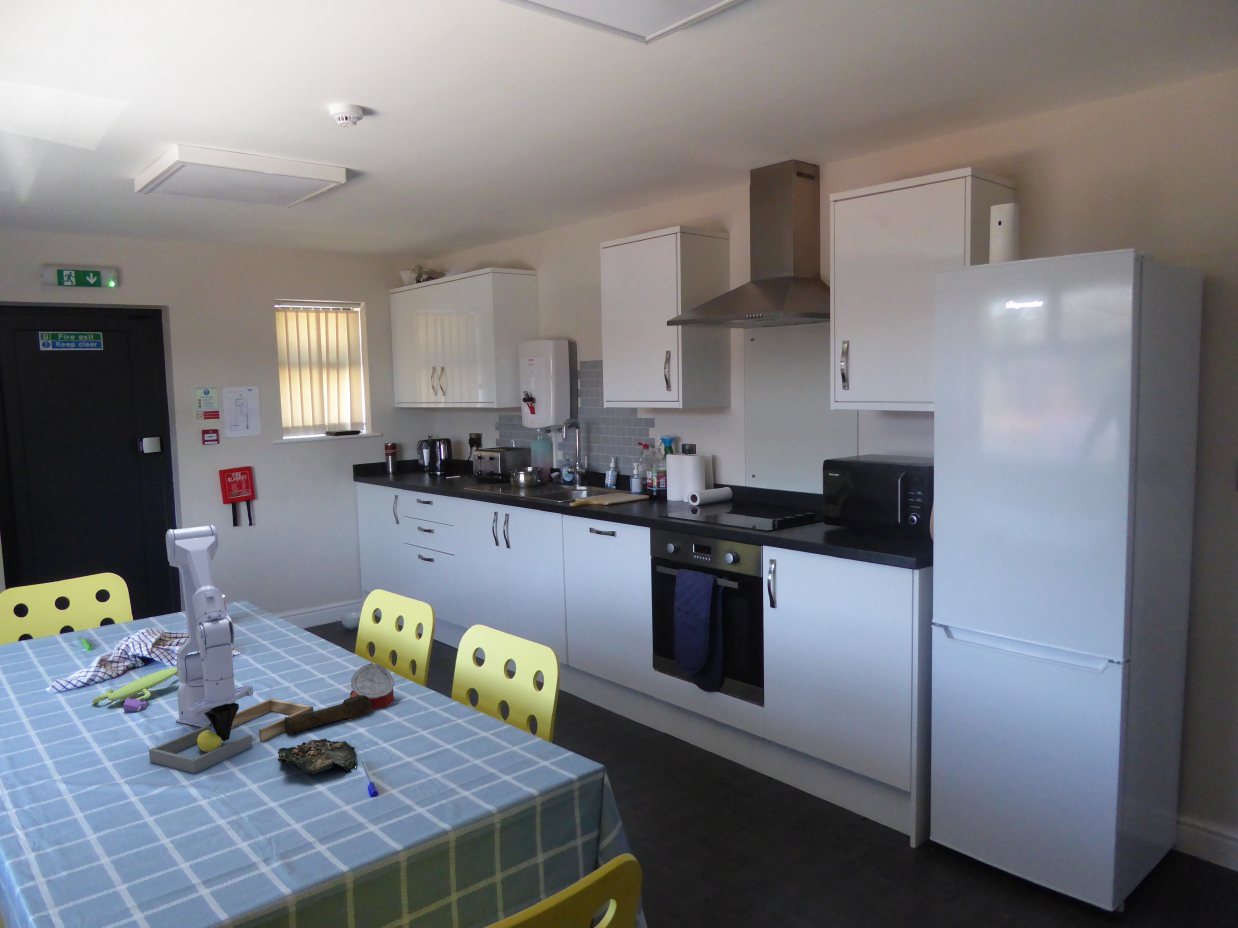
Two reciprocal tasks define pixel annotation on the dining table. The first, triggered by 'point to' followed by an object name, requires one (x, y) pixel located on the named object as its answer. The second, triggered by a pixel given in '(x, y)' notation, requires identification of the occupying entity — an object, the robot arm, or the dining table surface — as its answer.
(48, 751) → the dining table surface
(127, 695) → the figurine
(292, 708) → the oak frame
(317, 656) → the dining table surface
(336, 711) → the hand tool
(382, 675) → the canned food
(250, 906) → the dining table surface
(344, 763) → the decorative rock
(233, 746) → the grey frame
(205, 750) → the lemon
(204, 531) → the robot arm
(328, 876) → the dining table surface
